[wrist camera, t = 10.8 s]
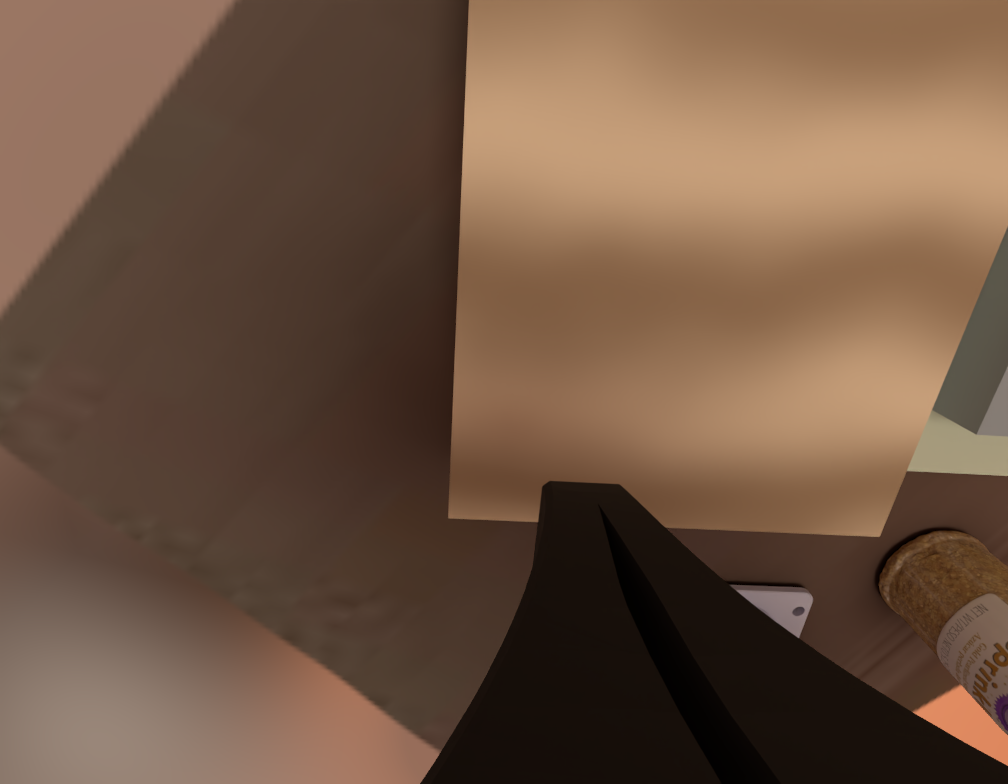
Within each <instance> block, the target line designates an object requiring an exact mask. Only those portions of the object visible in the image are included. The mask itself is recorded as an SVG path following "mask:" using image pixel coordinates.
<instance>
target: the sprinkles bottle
mask: <svg viewBox="0 0 1008 784" xmlns="http://www.w3.org/2000/svg"><path fill="white" fill-rule="evenodd" d="M878 585H879V589H880V594H881V596H882V598H883V600H884V601H885V602H886V604H887V605H888V606H889V607H890V608H891V609H892V610H893V611H895V612H896V613H897V614H899V615H900V616H901V617H902V618H903V619H904V620H905V621H906V622H907V623H908V624H909V625H910V626H911V627H912V628H913V630H914V631H915V632H916V633H917V634H918V635H919V636H920V637H921V638H922V639H923V640H924V642H925V643H926V644H927V645H928V646H929V647H930V648H931V649H932V650H933V651H934V653H935V654H936V655H937V656H938V657H939V659H940V661H941V663H942V664H943V665H944V666H945V668H946V669H947V670H948V671H949V672H950V673H951V674H952V675H953V676H954V677H955V679H956V680H957V681H958V682H959V683H960V684H961V685H962V686H963V687H964V688H965V689H966V691H967V692H968V693H969V694H970V695H971V696H972V697H973V698H974V699H975V700H976V702H977V703H978V704H979V705H980V706H981V707H982V708H983V709H984V710H985V711H986V713H987V714H988V715H989V716H990V717H991V718H992V719H993V720H994V721H995V722H996V724H997V725H998V726H999V727H1000V728H1001V729H1002V730H1003V731H1004V732H1005V733H1006V734H1007V735H1008V567H1007V566H1006V565H1005V564H1003V563H1002V562H1001V561H1000V560H998V559H997V558H996V557H995V556H993V555H992V554H991V553H989V552H988V550H987V548H986V547H985V546H984V545H983V544H982V543H981V542H980V541H979V540H977V539H976V538H974V537H973V536H971V535H969V534H965V533H962V532H958V531H933V532H931V533H929V534H926V535H921V536H919V537H917V538H916V539H915V540H913V541H909V542H908V543H907V544H905V545H903V546H902V547H900V549H899V550H898V551H896V552H895V553H894V554H893V555H892V556H891V557H890V558H889V559H888V560H887V562H886V565H885V567H884V568H883V571H882V573H881V574H880V582H879V584H878Z"/></svg>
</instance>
